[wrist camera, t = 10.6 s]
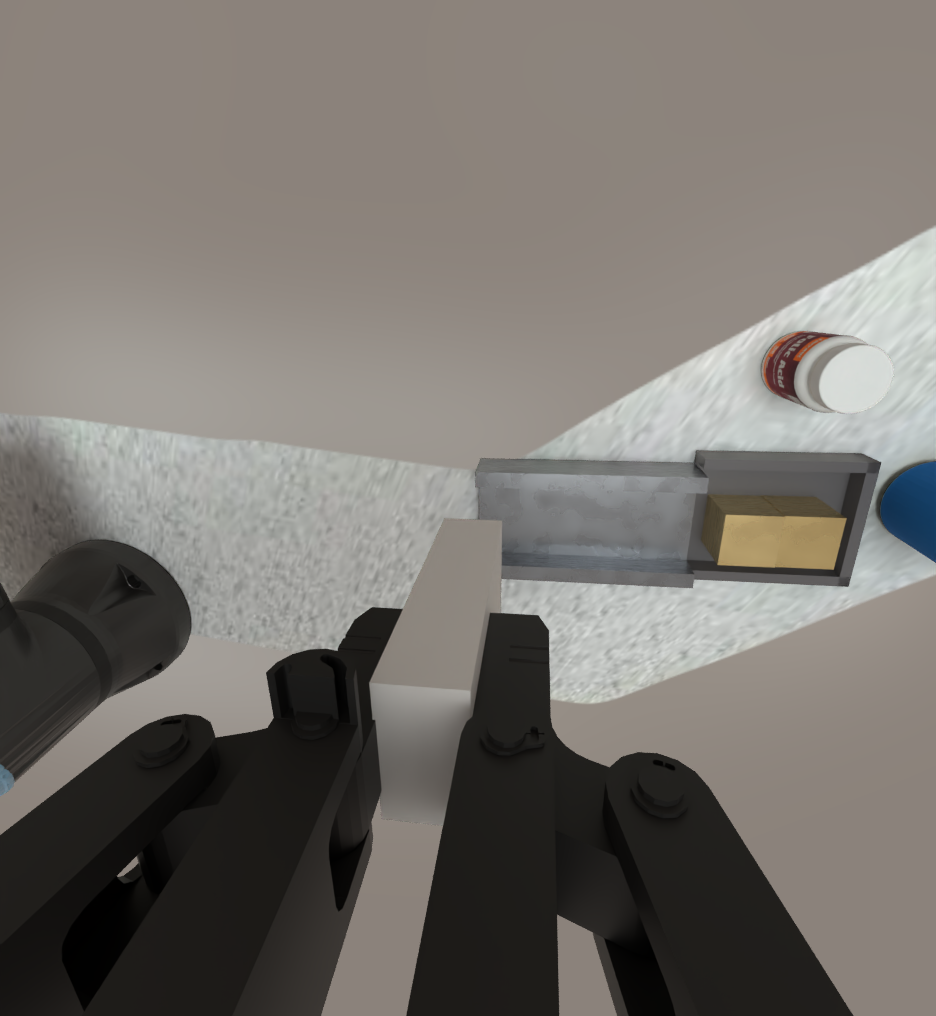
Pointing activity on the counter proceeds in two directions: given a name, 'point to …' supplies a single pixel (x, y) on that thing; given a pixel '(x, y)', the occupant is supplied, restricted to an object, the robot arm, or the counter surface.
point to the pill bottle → (827, 372)
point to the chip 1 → (742, 530)
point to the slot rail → (592, 519)
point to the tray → (787, 474)
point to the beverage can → (913, 508)
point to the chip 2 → (808, 532)
